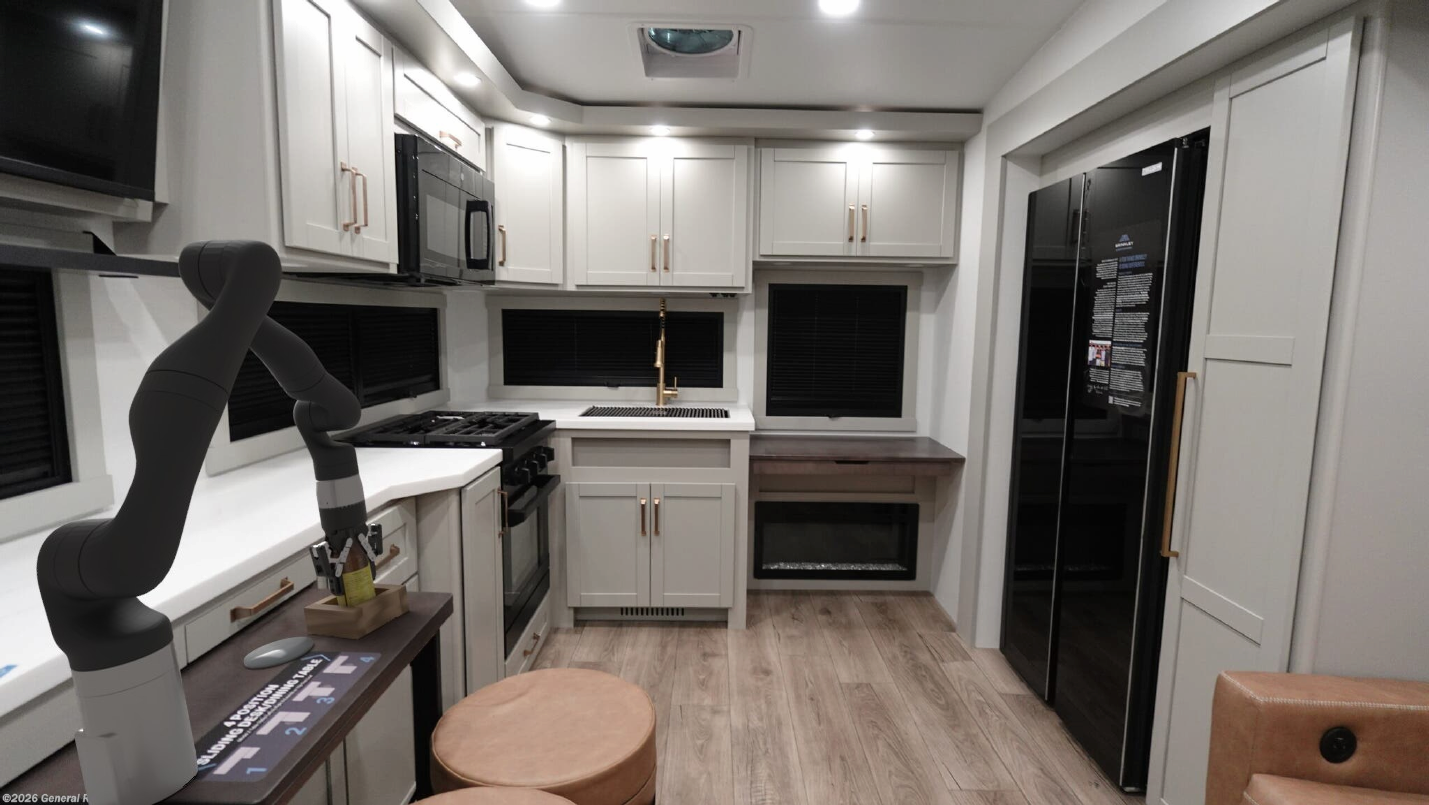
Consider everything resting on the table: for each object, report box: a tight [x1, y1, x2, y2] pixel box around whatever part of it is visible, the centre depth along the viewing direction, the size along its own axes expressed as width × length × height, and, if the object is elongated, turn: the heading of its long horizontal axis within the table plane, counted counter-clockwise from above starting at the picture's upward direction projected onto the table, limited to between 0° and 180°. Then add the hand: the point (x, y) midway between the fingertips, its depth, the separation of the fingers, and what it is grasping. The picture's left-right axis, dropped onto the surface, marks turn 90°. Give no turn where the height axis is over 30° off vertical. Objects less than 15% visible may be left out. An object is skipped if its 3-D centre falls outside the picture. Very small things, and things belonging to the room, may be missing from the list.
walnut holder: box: [303, 582, 410, 640], centre depth 125 cm, size 12×12×5 cm
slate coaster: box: [243, 636, 314, 670], centre depth 115 cm, size 10×10×1 cm
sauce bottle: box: [332, 528, 376, 607], centre depth 124 cm, size 7×6×20 cm
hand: (355, 587), depth 125 cm, fingers closed on sauce bottle, 6 cm apart
